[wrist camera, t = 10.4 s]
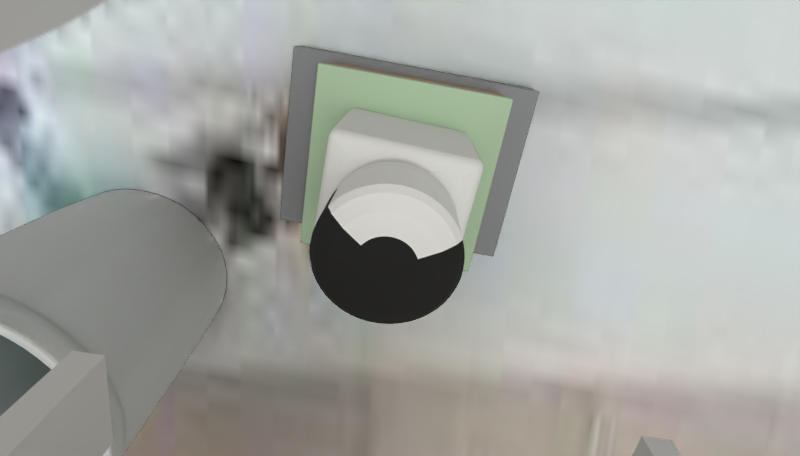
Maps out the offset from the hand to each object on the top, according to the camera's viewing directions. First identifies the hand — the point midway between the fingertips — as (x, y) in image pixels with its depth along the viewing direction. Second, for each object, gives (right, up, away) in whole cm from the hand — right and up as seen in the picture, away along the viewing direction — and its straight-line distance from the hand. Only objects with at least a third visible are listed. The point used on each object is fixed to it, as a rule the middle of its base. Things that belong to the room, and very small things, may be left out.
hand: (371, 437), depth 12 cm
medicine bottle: (+1, +8, +17) cm, 19 cm away
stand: (+1, +11, +22) cm, 25 cm away
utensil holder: (-20, +2, +27) cm, 34 cm away
